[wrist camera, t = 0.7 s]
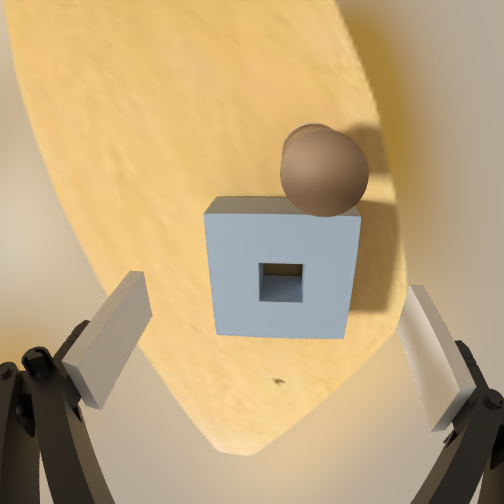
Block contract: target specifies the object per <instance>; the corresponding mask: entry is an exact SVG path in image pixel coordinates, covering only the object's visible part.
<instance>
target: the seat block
mask: <svg viewBox="0 0 504 504" xmlns="http://www.w3.org/2000/svg"><path fill="white" fill-rule="evenodd" d="M204 223H205V234H206V245H207V255H208V265H209V274H210V284H211V293H212V301H213V310H214V318H215V326H216V334H217V335H229V336H246V337H267V338H300V339H344V334H345V328H346V323H347V317H348V312H349V306H350V300H351V294H352V287H353V281H354V274H355V267H356V260H357V252H358V244H359V235H360V226H361V215H360V213H359V212H358V210H357V208H356V207H355V206H354V207H352V208H351V209H350V210H348V211H347V212H345V213H343V214H340V215H337V216H333V217H317V216H312V215H309V214H307V213H305V212H303V211H301V210H300V209H298V208H297V207H296V206H295V205H293V204H292V202H291V201H290V200H289V199H288V197H216V198H215V199H214V201H213V202H212V203H211V205H210V206H209V207H208V209H207V210H206V211H205V213H204ZM263 263H285V264H302V276H279V275H263Z"/></svg>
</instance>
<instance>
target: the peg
mask: <svg viewBox="0 0 504 504" xmlns="http://www.w3.org/2000/svg"><path fill="white" fill-rule="evenodd" d="M368 174H369V172H368V165H367V161H366V159H365V156H364V154H363V152H362V151H361V149H360V148H359V147H358V145H357V144H356V143H355V142H353V141H352V140H351V139H350V138H348V137H346V136H344V135H343V134H341V133H339V132H337V131H335V130H333V129H331V128H330V127H328V126H326V125H323V124H320V123H306V124H302V125H300V126H298V127H296V128H295V129H293V130H292V131H291V132H290V133H289V134H288V136H287V137H286V139H285V141H284V144H283V148H282V161H281V172H280V176H281V183H282V187H283V190H284V192H285V194H286V196H287V197H288V199H289V200H290V201H291V202H292V204H293V205H295V206H296V207H297V208H298V209H300V210H301V211H303V212H305V213H307V214H309V215H312V216H317V217H333V216H337V215H340V214H343V213H345V212H347V211H348V210H350V209H351V208H352V207H354V206H355V205H356V204H357V203H358V202H359V200H360V199H361V198H362V196H363V194H364V192H365V190H366V187H367V184H368Z"/></svg>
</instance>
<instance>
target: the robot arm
mask: <svg viewBox="0 0 504 504" xmlns="http://www.w3.org/2000/svg"><path fill="white" fill-rule="evenodd" d="M151 317H152V311H151V307H150V302H149V297H148V293H147V288H146V283H145V277H144V272H139V271H130V272H129V273H128V274H127V275H126V277H125V278H124V279H123V280H122V281H121V283H120V284H119V285H118V286H117V288H116V289H115V290H114V291H113V293H112V294H111V295H110V296H109V298H108V299H107V300H106V302H105V303H104V304H103V305H102V307H101V308H100V309H99V311H98V312H97V313H96V315H95V316H94V317H93V318H92V320H91V321H88V320H85V321H83V322H82V323H81V324H79V325H77V326H76V327H75V329H74V330H73V332H72V333H71V335H69V337H68V338H67V339H66V341H65V342H64V343H63V345H62V346H61V347H60V349H59V350H58V351H57V353H56V354H55V356H54V357H53V358H52V357H51V355H50V353H49V351H48V349H46V348H45V347H40V346H39V347H34V348H32V349H29V350H28V351H27V352H26V353H25V354H24V356H23V357H22V361H21V362H22V364H23V366H24V368H25V369H26V371H19V370H18V368H17V366H16V365H15V364H14V363H13V362H5V363H2V364H1V365H0V504H40V491H39V458H40V456H39V455H40V452H41V457H42V461H43V465H44V469H45V474H46V478H47V481H48V485H49V489H50V492H51V496H52V499H53V502H54V504H115V502H114V500H113V498H112V496H111V493H110V491H109V489H108V486H107V484H106V481H105V479H104V477H103V474H102V472H101V469H100V466H99V464H98V461H97V458H96V456H95V453H94V450H93V447H92V444H91V441H90V439H89V435H88V432H87V429H86V426H85V422H84V419H83V416H82V412H81V409H80V407H79V405H78V403H79V401H80V399H81V398H82V400H83V401H84V403H85V405H86V406H88V407H91V408H94V409H98V410H102V408H103V406H104V404H105V402H106V400H107V398H108V396H109V394H110V392H111V390H112V389H113V387H114V385H115V383H116V381H117V379H118V377H119V375H120V373H121V371H122V370H123V368H124V366H125V364H126V362H127V360H128V358H129V356H130V355H131V353H132V351H133V349H134V347H135V346H136V344H137V342H138V340H139V338H140V337H141V335H142V333H143V331H144V330H145V328H146V326H147V324H148V322H149V321H150V319H151ZM396 329H397V332H398V334H399V337H400V340H401V343H402V346H403V348H404V351H405V354H406V357H407V360H408V363H409V366H410V369H411V372H412V375H413V378H414V380H415V384H416V387H417V390H418V393H419V397H420V400H421V403H422V406H423V410H424V413H425V417H426V420H427V424H428V427H429V431H430V432H436V431H442V430H446V428H447V427H448V426H449V425H450V423H451V422H452V423H453V426H454V430H453V431H452V432H451V433H450V434H449V436H448V437H447V438H446V439H445V440H444V442H443V443H446V444H445V446H444V448H443V450H442V451H441V453H440V455H439V457H438V459H437V461H436V463H435V465H434V466H433V468H432V470H431V471H430V473H429V475H428V477H427V478H426V480H425V482H424V483H423V485H422V486H421V488H420V490H419V491H418V493H417V494H416V496H415V498H414V499H413V501H412V502H411V504H469V503H470V501H471V499H472V497H473V495H474V492H475V490H476V488H477V486H478V483H479V481H480V479H481V476H482V474H483V479H482V484H481V490H480V494H479V499H478V504H504V398H503V396H502V395H501V394H500V393H499V392H497V391H496V390H493V389H489V387H488V385H487V383H486V381H485V379H484V377H483V375H482V373H481V371H480V369H479V367H478V365H476V361H475V359H474V358H473V355H472V353H471V351H470V350H469V348H468V347H467V346H466V345H465V344H464V343H463V342H462V341H460V340H459V341H454V340H453V338H452V336H451V334H450V332H449V330H448V328H447V326H446V325H445V323H444V321H443V319H442V317H441V315H440V314H439V312H438V310H437V308H436V307H435V305H434V303H433V301H432V300H431V298H430V296H429V295H428V293H427V291H426V290H425V288H424V286H423V285H410V286H409V290H408V293H407V297H406V300H405V303H404V307H403V310H402V313H401V316H400V319H399V322H398V325H397V328H396ZM483 472H484V473H483Z"/></svg>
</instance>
